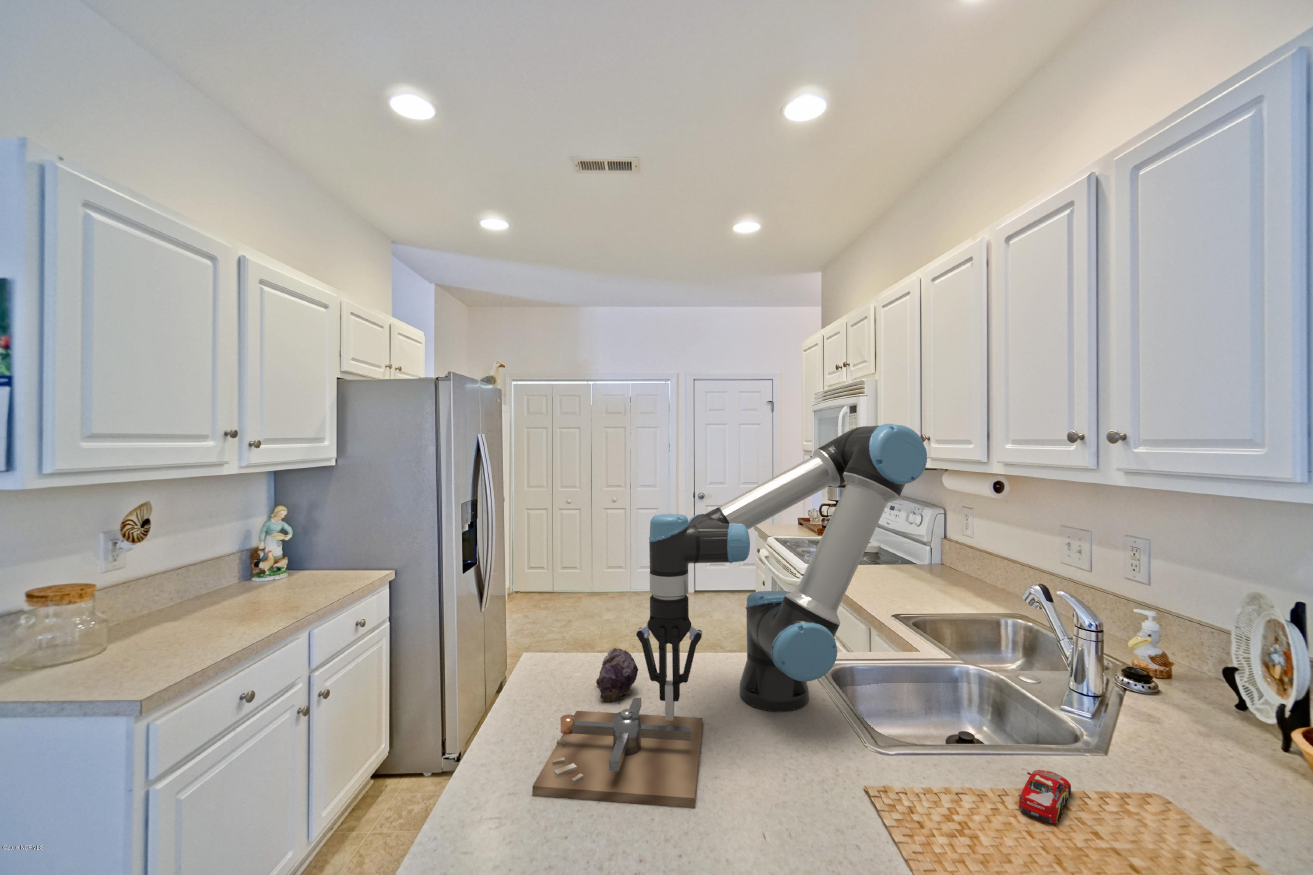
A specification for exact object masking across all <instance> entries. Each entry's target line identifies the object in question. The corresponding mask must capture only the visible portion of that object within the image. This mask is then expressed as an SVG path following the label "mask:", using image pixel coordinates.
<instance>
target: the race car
mask: <svg viewBox="0 0 1313 875" xmlns="http://www.w3.org/2000/svg"><path fill="white" fill-rule="evenodd" d="M1026 774H1027V775H1028V779H1027V780H1026V782H1025V783H1024V786H1023V788H1022V789H1021V791H1020V794H1019V798H1018V809H1019V811H1020V812H1022V813H1024V814H1025V815H1028V816H1031V817H1033V818H1035V819H1038V820H1040V821H1043V822H1046V823H1050V824H1057V823H1059V822H1060V820H1061V818H1062V815H1063V813H1064V810H1065V809H1066V807H1067V803H1068V801H1069V799H1070V797H1071V793H1072V785H1071V783H1070V781H1069V780H1068V779H1067V778H1065V777H1063V776H1061V774H1058V773H1055V772H1053V771H1050V770H1043V769H1037V770H1033V771H1032V772H1029V771H1028V772H1026Z"/></svg>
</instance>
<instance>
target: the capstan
mask: <svg viewBox="0 0 1313 875" xmlns="http://www.w3.org/2000/svg"><path fill="white" fill-rule="evenodd" d="M641 709H642V697H632V700H631V703H630V705H629V708H627V709H626V708H625V709H622V710H621V711H619V712H615V713H616V714H615V715H614V716H613V723H610V722H593V721H576V720H575V716H574V715H573V714H563V715H562V716H561V717H560V733H561V735H563V734H564V735H569V734H587V735H603V736H613V751H612V754H611V756H610V759H609V771H619V769H620V766H621V763H622V761H623V758H624V756H629V755H634V754H636V753H638V752H639V751H640V750H641V738H652V739H668V740H684V741H691V727H679V726H661V725H644V724H641V716H640V714H641V713H640V711H641Z"/></svg>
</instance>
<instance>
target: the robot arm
mask: <svg viewBox="0 0 1313 875" xmlns="http://www.w3.org/2000/svg"><path fill="white" fill-rule="evenodd" d="M927 462H928V452H927V448H926V447H925V444H924V441H923V439H922V437H921V436H920V435H919V434H918V433H917V432H916V431H915V430H914V429H912V428H910V427H908V426H906V425H902V424H895V423H885V424H882V425H881V424H880V425H869V426H868V425H866V426H865V425H864V426H857V427H855V428H852V429H850V430H847V431H846V432H844V433H842V434H840V435H839V436H836V437H835V438H833V439H832V440H830V441H828V442H827V443H825V444H823V445H821V446H820V447H818V448H815V449H814V450H813V452H812V456H810V457H808V458H807V459H805V460H803V461H801V462H800V463H797V464H796V465H794V466H792V467H790V468H788V469H786V470H784V471H783V472H781V473H779V474H777V475H775V476H773V477H771V478H770V479H768V480H766V481H764V482H761V484H758V485H756V486H755V487H753V488H750V489H749V490H747V491H745V492H743V493H742V494H739V495H737V496H736V497H734V498H732V499H731V500H729V501H727V502H724V503H723V504H721V505H719V506H717V507H716V508H714V509H711V510H710V511H708V512H706V513H700V514H696V515H693V516H691V517H690V519H689V518H688V516H686V515H685V514H680V513H662V514H661V513H660V514H656V515H654V516H652V518H651V519H650V522H649V537H648V540H649V542H648V544H649V593H650V594H651V595H650V596H649V619H648V621H647V623H646V625H645V626H643V627H639V628H638V630H637V632H636V637H637V640H639V642H640V643H641V648H642V651H643V656H644V660H645V664H646V668H647V672H648V676H649V679H650V681H651V682H656V683H657V684H658V685H659V700H660V701H661V702H664V706H665V707H664V716H665V720H669V721H673V718H674V716H675V702H679V701H680V697H681V690H680V688H681V684H683V683H685V684H686V683H687V682H688V681H689V677H690V674H691V669H692V667H693V666H692V665H693V661H694V657H695V652H696V650H697V648H696V647H697V645H698V644H699V643H700V641H701V640H702V638H703V631H702V630H701V629H697V628H696V627H693V626H692V622H691V620H690V617H689V612H690V611H689V608H690V607H689V596H688V593H689V565H690V564H713V563H714V564H717V563H718V564H720V563H721V564H722V563H725V564H726V563H727V564H728V563H729V564H733V563H738V562H739V563H741V562H744V561H746V560H747V559H748V557H749V555H750V549H751V539H750V538H751V537H750V533H749V530H750V529H752V528H754V527H757V525H760V524H762V523H763V522H766V521H767V520H769V519H770V518H774V516H776V515H778V514H780V513H782V512H784V511H785V510H787V509H789V508H791V507H793V506H795V505H797V504H798V503H801V502H802V501H804V500H806V499H808V498H809V497H811V496H813V495H816V494H817V493H819V492H821V491H823V490H825V489H826V488H828V487H833V488H838V487H839V486H841V485H843V484H845V487H844V489H843V491H842V493H841V495H840V498H839V499H838V502H837V504H836V506H835V508H834V510H833V513H832V514H831V517H830V519H829V521H828V523H827V524H826V527H825V529H824V531H823V533H822V536H821V538H820V539H819V542H818V544H817V546H816V548H815V551H814V553H813V554H812V556H811V559H810V561H809V563H808V565H807V567H806V569H805V571H804V574H803V575H802V578H801V580H800V582H799V584H798V586H797V589H796V590H794V591H785V590H761V591H758V590H757V591H753V592H751V593H749V594H748V595H747V596H746V606H745V610H746V660H745V661H746V662H745V665H744V668H743V672H742V674H741V677H740V678H741V679H740V680H739V697H740V699H741V700H742V701H743V702H745V703H746V704H747V705H749V706H752V707H754V708H758V709H760V710H765V711H770V712H771V711H772V712H789V711H795V710H798V709H801V708H804V707H805V706H806V705H807V704H808V703H809V700H810V697H809V696H810V694H809V693H810V690H809V686H808V682H813V681H815V680H819V679H822V678H823V677H824V676H826V675H827V674H828V673H829V672H830V671H831V670H832V669H833V667H834V665H835V663H836V661H837V657H838V646H837V642H836V638H835V636H836V634H837V632H838V630H839V627H840V626H841V621H840V619H839V615H838V610H839V608H840V605H841V603H842V601H843V599H844V597H845V596H846V592H847V590H848V588H849V586H850V584H851V582H852V579H853V578H854V576H855V573H856V571H857V569H858V567H859V565H860V563H861V560H862V558H863V556H864V553H865V552H866V549H867V548H868V546H869V543H870V542H871V539H872V537H873V535H874V533H875V531H876V529H877V526H878V524H879V522H880V520H881V518H882V516H883V513H884V511H885V508H886V507H887V505H888V504H889V503H891V502H894V501H898V500H899V499H900V496H901V495H902V492H903V490H904V488H905V486H906V485H908V484H911V483H912V482H915V481H916V480H918V479H919V478H920V477H921V476H922V474H923V473H924V471H925V470H926V468H927V467H926V466H927ZM688 633H689V635H688ZM651 634H652V636H653V638H654V639H655V640H656V641H657V642H658V669H657V665H656V661H655V660H656V659H655V657H654V652H653V648H652V643H651V640H650V635H651ZM687 635H688V636H689V637H688V638H689V640H690V641H689V642H690V643H689V647H688V652H687V656H686V659H685V664H684V668H683V673H681V666H680V665H681V661H680V660H681V656H680V655H681V654H680V653H681V651H680V647H681V642H682V641H683V640H684V638H685V637H686V636H687ZM668 644H669V645H671V651H672V652H671V653H672V654H671V656H672V657H671V659H672V660H671V663H672V666H671V668H672V679H671V680H668V679H667V678H668V672H667V671H668V670H667V669H668V668H667V667H668V665H667V664H668V663H667V662H668V660H667V658H668V657H667V654H668V653H667V650H668V649H667V648H668V646H667V645H668Z"/></svg>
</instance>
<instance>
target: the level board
mask: <svg viewBox="0 0 1313 875" xmlns="http://www.w3.org/2000/svg"><path fill="white" fill-rule="evenodd" d="M616 713H617V712H606V711H588V710H587V711H586V710H575V713H574V716H575V720H576V721H593V722H610V723H613V716H614V715H615V714H616ZM639 714H640V716H641V724H644V725H661V726H679V727H691V741H684V740H668V739H652V738H641V750H640V751H639V752H638V753H636V754H634V755H629V756H624V758H623V761H622V763H621V766H620V769H619V771H609V759H610V756H611V754H612V751H613V736H603V735H587V734H569V735H564V734H561V736H560V738H558V739H557V740H556V745H555V747H554V749H553V751H551V754H550V755H549V757H548V759H547V760H546V761H545V764H544V766H543V767H542V768H541V771H540V772H539V774H538V776H537V777H536V779H535V781H534V782H533V784H532V786H531V788H532V789H531V793H532V796H535V797H537V796H538V797H549V798H550V797H551V798H562V799H572V800H573V799H574V800H575V799H576V800H588V801H589V800H590V801H600V802H601V801H602V802H611V803H612V802H615V803H627V804H640V805H652V806H667V807H676V808H677V807H679V808H692V809H695V808H696V799H697V787H698V778H699V768H700V759H701V748H702V739H703V728H704V717H693V716H677V715H674V718H673V721H669V720H665V715H661V714H660V715H659V714H658V715H657V714H641V713H639Z"/></svg>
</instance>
